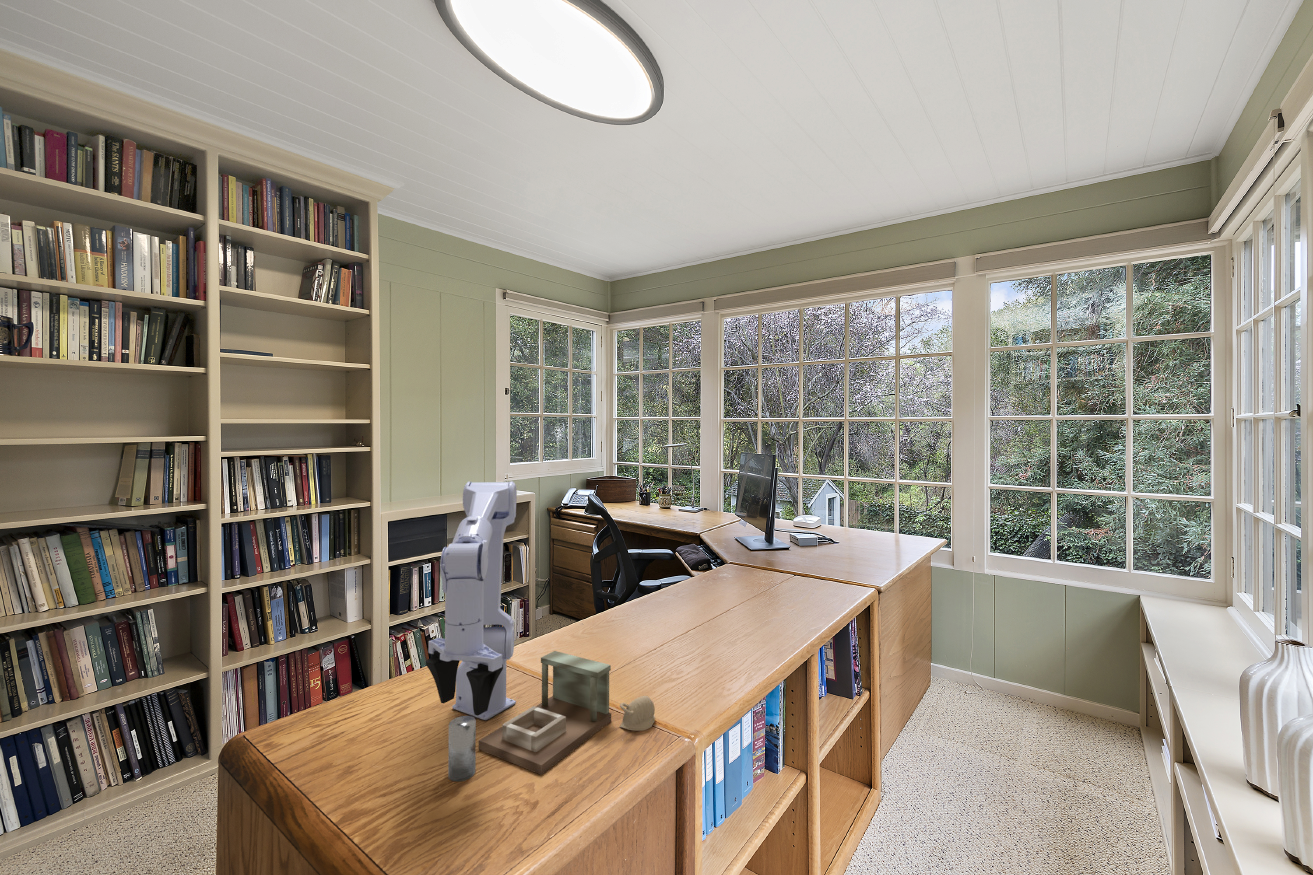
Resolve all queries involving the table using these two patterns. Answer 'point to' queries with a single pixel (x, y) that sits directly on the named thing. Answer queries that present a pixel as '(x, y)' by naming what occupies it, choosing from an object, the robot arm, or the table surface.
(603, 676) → the socket stand
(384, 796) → the table surface
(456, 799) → the table surface
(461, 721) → the steel peg
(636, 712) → the decorative ornament
